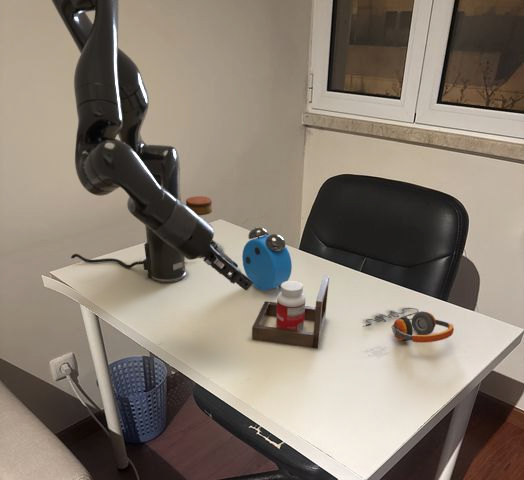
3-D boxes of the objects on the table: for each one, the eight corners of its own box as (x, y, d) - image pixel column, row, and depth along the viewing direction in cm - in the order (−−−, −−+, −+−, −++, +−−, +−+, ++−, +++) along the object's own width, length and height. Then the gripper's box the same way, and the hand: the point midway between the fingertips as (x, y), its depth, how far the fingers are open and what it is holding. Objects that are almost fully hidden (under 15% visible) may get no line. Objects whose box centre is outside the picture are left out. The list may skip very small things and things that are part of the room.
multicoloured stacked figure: (191, 239, 159) (188, 191, 150) (227, 245, 155) (225, 197, 146) (171, 252, 149) (166, 202, 141) (208, 259, 145) (206, 208, 137)
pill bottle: (274, 323, 115) (276, 279, 109) (301, 322, 116) (303, 278, 110) (277, 337, 110) (279, 292, 104) (305, 336, 111) (308, 291, 105)
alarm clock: (291, 292, 129) (294, 236, 120) (273, 299, 125) (274, 241, 117) (259, 275, 137) (259, 221, 129) (241, 281, 134) (240, 226, 125)
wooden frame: (252, 339, 109) (252, 293, 103) (264, 313, 119) (265, 269, 113) (317, 348, 107) (322, 301, 100) (325, 320, 117) (329, 276, 111)
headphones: (408, 296, 122) (474, 314, 105) (407, 316, 124) (473, 338, 107) (351, 311, 115) (412, 333, 98) (352, 332, 117) (412, 358, 100)
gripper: (160, 231, 97) (219, 277, 107) (178, 259, 86) (241, 307, 96) (185, 201, 96) (242, 250, 106) (206, 225, 85) (267, 277, 95)
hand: (241, 277), depth 101 cm, fingers open, 8 cm apart
